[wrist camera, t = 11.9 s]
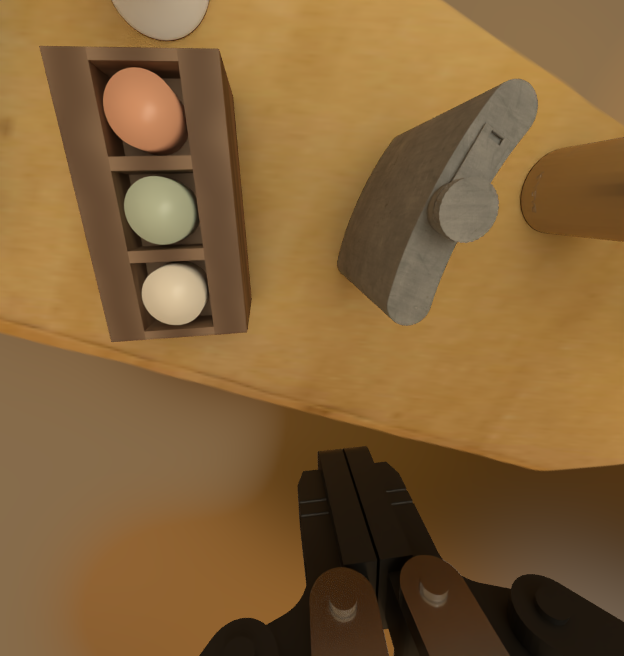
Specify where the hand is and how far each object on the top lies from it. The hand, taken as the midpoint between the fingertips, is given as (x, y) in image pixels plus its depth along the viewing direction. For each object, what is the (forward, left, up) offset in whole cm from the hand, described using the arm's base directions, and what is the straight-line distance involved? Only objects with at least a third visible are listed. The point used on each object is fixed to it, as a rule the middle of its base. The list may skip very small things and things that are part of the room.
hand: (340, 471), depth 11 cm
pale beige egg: (+10, -1, -23) cm, 25 cm away
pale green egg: (+10, -8, -23) cm, 26 cm away
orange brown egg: (+10, -14, -23) cm, 29 cm away
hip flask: (-10, -7, -31) cm, 34 cm away
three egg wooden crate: (+10, -8, -31) cm, 33 cm away
